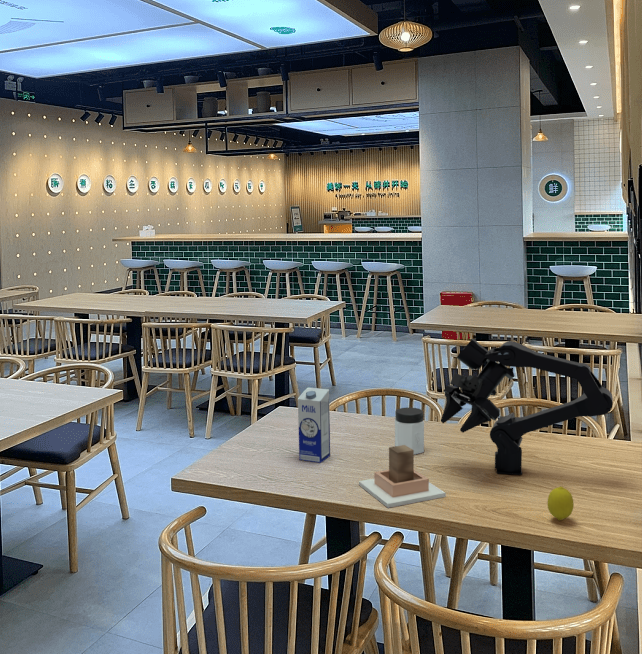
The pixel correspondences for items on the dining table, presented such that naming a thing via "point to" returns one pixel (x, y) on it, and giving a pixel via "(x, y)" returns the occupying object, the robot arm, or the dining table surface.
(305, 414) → the milk carton
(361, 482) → the terracotta holder
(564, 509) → the lemon
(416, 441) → the jar
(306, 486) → the dining table surface
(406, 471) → the walnut post
